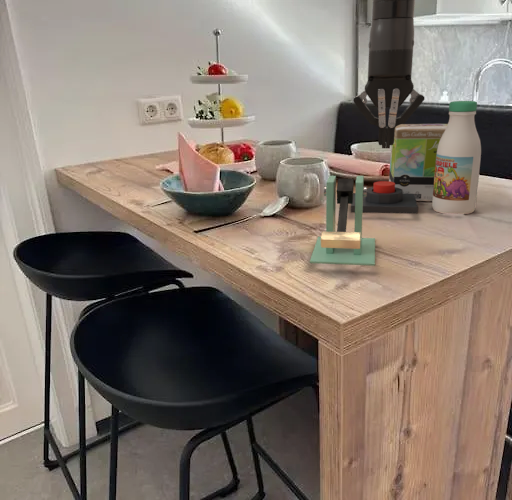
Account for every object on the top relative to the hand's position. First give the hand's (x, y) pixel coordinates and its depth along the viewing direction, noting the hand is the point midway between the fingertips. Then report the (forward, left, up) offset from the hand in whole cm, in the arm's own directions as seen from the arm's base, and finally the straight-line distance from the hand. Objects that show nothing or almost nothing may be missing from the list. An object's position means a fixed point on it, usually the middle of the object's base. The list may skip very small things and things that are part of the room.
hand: (385, 147), depth 94 cm
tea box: (-9, -11, -12) cm, 19 cm away
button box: (0, 0, -12) cm, 12 cm away
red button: (0, 0, -9) cm, 9 cm away
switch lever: (+6, +30, -5) cm, 31 cm away
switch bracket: (+6, +26, -12) cm, 29 cm away
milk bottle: (-13, -1, -12) cm, 18 cm away
